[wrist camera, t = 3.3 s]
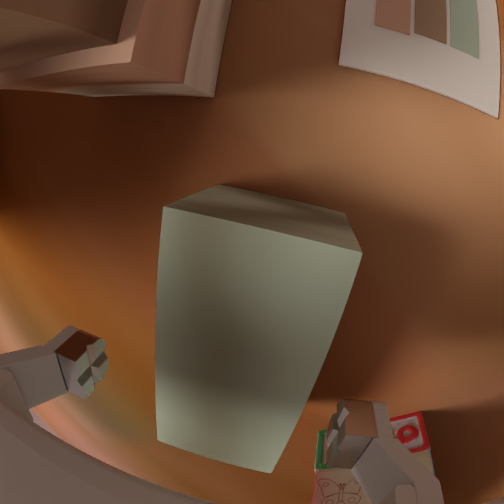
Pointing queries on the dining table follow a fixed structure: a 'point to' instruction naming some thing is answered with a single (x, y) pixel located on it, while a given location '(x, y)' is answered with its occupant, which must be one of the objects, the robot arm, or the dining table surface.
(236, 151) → the dining table surface
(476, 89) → the page
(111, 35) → the brick walnut
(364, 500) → the stack of blocks
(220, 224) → the brick sage
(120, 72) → the base brick
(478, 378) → the dining table surface
